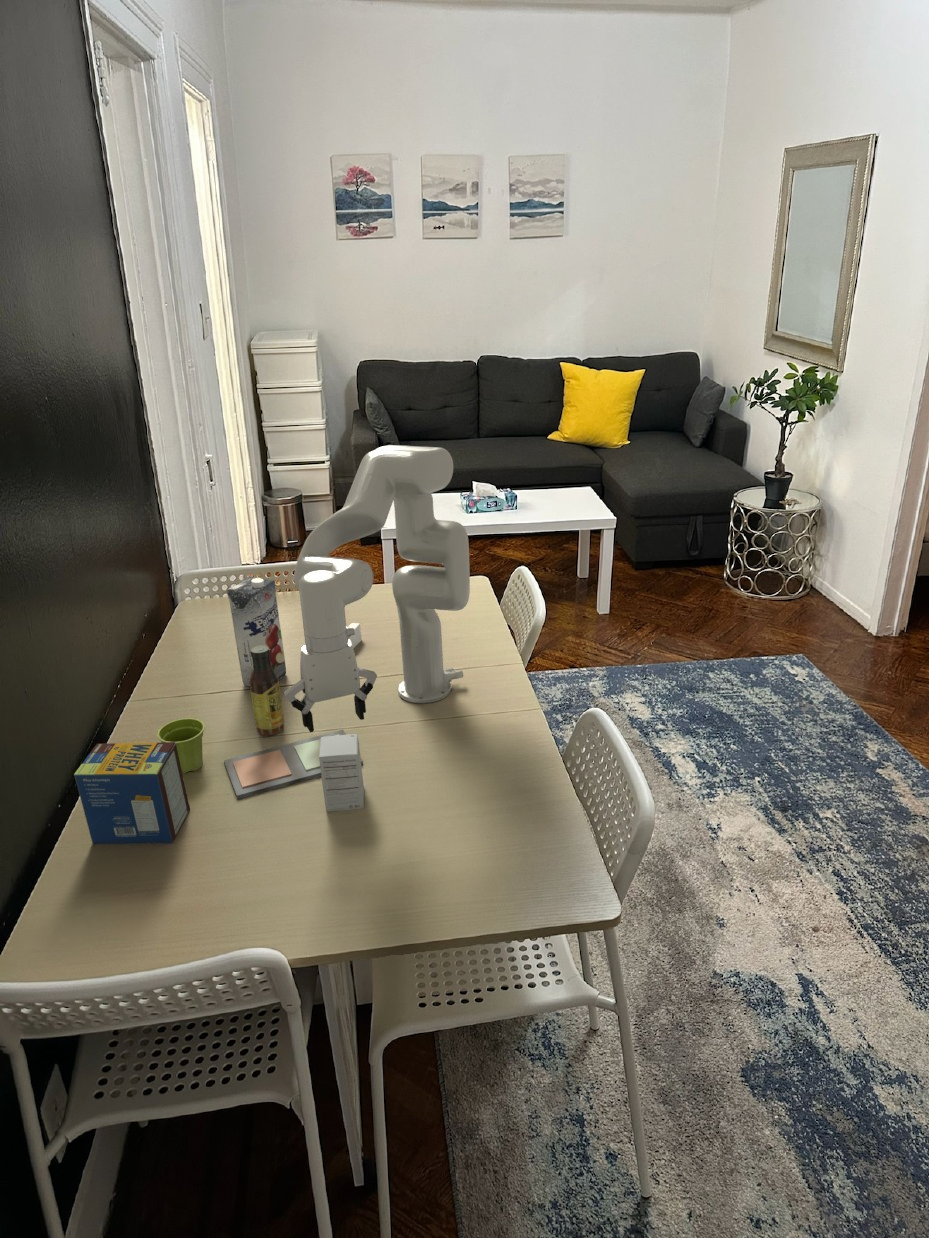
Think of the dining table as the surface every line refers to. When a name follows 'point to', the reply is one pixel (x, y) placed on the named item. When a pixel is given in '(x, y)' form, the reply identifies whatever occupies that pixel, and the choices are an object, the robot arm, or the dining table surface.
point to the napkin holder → (357, 637)
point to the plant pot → (185, 741)
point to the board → (276, 766)
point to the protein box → (133, 793)
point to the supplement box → (341, 772)
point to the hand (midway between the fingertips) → (335, 722)
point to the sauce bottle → (265, 693)
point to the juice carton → (256, 624)
